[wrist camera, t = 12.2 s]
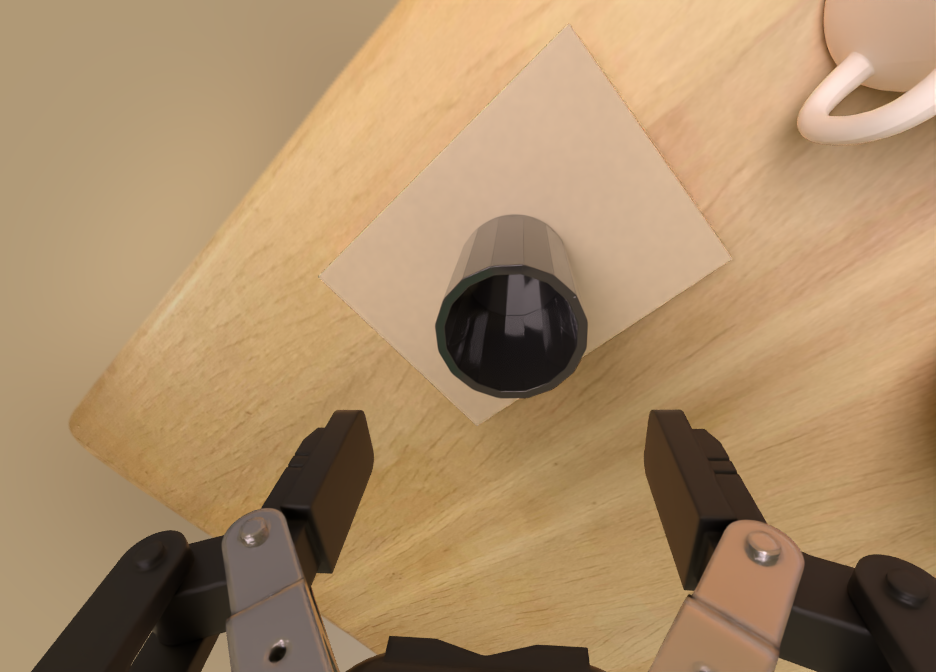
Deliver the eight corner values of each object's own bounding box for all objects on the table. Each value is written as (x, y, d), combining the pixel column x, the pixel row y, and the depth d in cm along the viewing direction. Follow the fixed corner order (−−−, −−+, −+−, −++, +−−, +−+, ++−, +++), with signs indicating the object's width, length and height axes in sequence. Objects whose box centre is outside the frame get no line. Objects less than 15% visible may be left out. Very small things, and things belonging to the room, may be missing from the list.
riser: (480, 400, 33) (477, 427, 31) (335, 260, 29) (317, 276, 27) (712, 242, 26) (733, 259, 24) (563, 30, 22) (568, 22, 20)
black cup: (464, 319, 27) (443, 399, 20) (454, 217, 24) (427, 268, 17) (567, 316, 26) (584, 398, 19) (570, 210, 23) (591, 261, 16)
